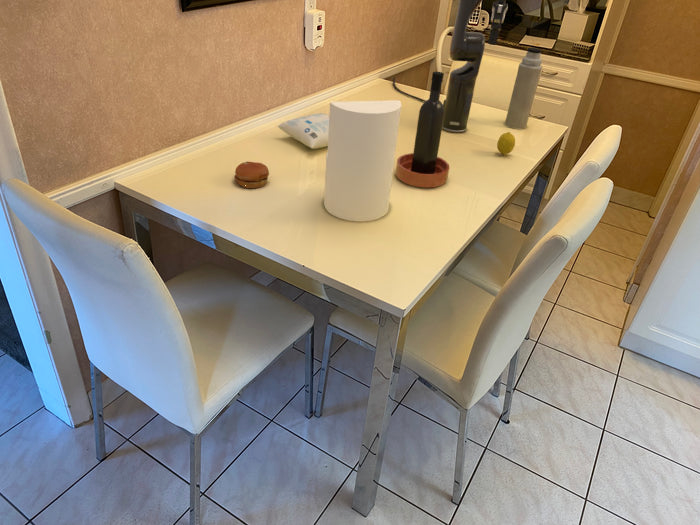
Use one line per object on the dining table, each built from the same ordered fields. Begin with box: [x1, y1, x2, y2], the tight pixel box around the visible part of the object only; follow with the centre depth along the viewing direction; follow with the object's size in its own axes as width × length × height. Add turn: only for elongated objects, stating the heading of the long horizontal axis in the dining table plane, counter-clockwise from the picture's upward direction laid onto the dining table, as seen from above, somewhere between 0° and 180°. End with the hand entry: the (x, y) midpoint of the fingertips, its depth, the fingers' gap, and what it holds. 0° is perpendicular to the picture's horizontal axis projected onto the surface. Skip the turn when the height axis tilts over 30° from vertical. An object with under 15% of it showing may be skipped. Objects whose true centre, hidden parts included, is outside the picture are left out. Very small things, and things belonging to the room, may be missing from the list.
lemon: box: [496, 131, 516, 156], centre depth 173 cm, size 6×6×8 cm
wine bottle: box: [411, 71, 445, 174], centre depth 148 cm, size 6×6×30 cm
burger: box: [233, 161, 270, 189], centre depth 146 cm, size 10×9×5 cm
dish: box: [395, 152, 450, 188], centre depth 155 cm, size 15×15×4 cm
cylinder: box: [323, 99, 402, 223], centre depth 132 cm, size 17×17×28 cm
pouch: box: [276, 112, 329, 150], centre depth 172 cm, size 8×19×20 cm
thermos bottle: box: [504, 47, 543, 130], centre depth 193 cm, size 8×8×28 cm
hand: (492, 41), depth 148 cm, fingers open, 8 cm apart
